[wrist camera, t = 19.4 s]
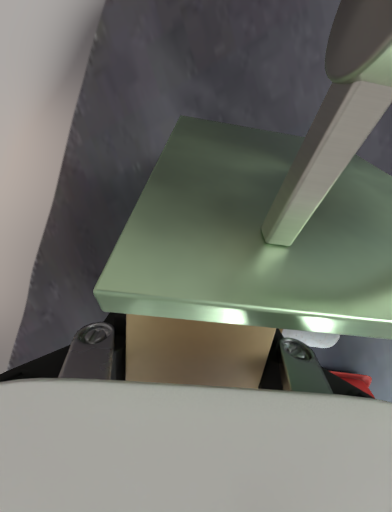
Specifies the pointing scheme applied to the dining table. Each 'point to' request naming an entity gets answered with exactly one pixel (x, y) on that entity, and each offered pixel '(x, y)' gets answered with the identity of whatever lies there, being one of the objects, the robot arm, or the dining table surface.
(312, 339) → the ceramic mug
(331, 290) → the lid
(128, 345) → the block
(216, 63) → the dining table surface
